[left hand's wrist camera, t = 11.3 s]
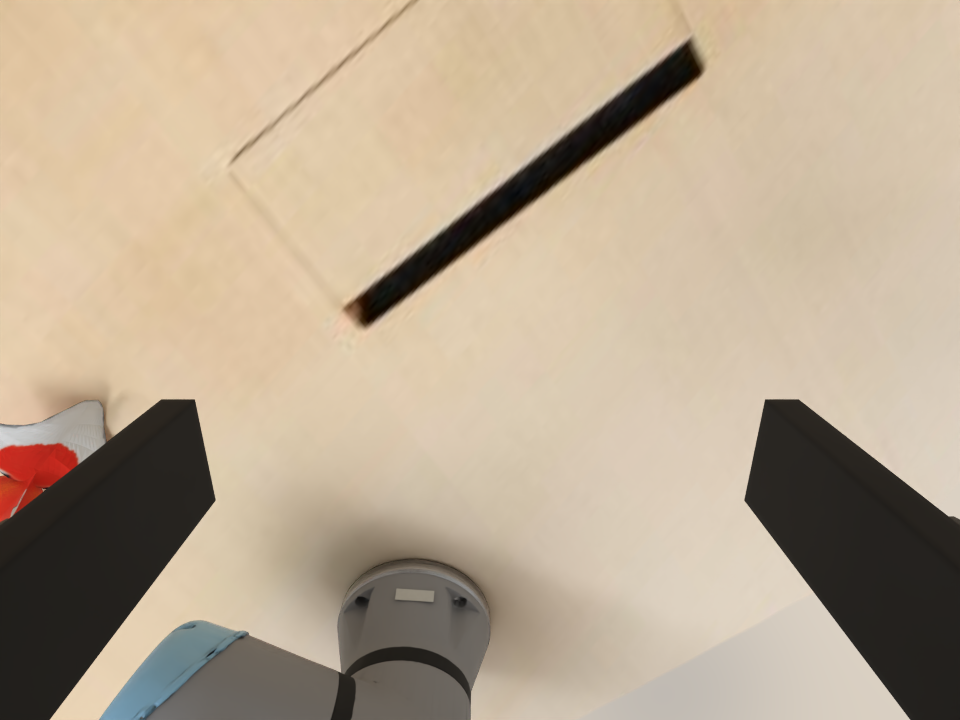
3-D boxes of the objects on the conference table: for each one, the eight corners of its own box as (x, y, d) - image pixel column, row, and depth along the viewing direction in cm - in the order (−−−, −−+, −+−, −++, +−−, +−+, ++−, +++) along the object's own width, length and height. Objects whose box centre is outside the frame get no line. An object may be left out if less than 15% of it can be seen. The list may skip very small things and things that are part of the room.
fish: (-117, 461, 44) (-163, 539, 37) (63, 345, 48) (56, 395, 40) (3, 529, 51) (-14, 607, 43) (154, 423, 54) (162, 477, 47)
